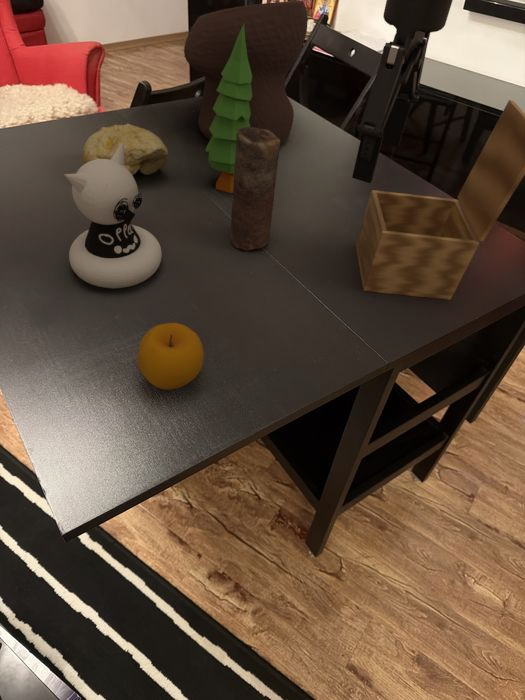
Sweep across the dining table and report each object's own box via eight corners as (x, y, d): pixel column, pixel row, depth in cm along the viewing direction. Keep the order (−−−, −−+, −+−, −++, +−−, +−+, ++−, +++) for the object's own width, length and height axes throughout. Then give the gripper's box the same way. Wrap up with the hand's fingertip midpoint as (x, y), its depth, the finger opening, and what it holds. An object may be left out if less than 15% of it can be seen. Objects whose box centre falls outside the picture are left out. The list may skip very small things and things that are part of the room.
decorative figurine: (108, 307, 74) (87, 187, 59) (53, 264, 80) (22, 145, 65) (180, 268, 82) (177, 154, 68) (125, 231, 88) (112, 119, 74)
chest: (363, 291, 83) (382, 233, 75) (355, 246, 93) (371, 189, 84) (450, 299, 84) (479, 243, 75) (434, 254, 93) (458, 199, 85)
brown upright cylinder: (231, 227, 93) (238, 121, 78) (269, 231, 93) (282, 126, 78) (228, 250, 87) (234, 141, 73) (268, 254, 88) (282, 146, 73)
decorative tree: (257, 189, 104) (274, 27, 82) (225, 202, 99) (233, 33, 77) (227, 171, 108) (236, 13, 86) (195, 182, 103) (195, 17, 81)
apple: (168, 416, 61) (164, 372, 55) (126, 379, 65) (119, 333, 58) (215, 381, 66) (218, 336, 60) (174, 348, 70) (172, 302, 63)
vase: (299, 121, 132) (319, -13, 110) (279, 163, 113) (299, 11, 92) (205, 102, 134) (207, -32, 112) (171, 140, 116) (165, -12, 94)
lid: (541, 137, 63) (547, 138, 63) (508, 99, 73) (513, 100, 73) (478, 240, 75) (483, 241, 75) (457, 196, 84) (461, 197, 85)
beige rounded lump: (107, 166, 109) (69, 181, 97) (106, 114, 103) (65, 123, 91) (176, 182, 107) (147, 199, 95) (179, 130, 101) (148, 142, 89)
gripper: (419, -35, 64) (379, 125, 80) (356, -3, 49) (321, 188, 64) (475, -25, 62) (422, 137, 78) (428, 12, 47) (374, 205, 63)
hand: (376, 161), depth 71 cm, fingers open, 13 cm apart
